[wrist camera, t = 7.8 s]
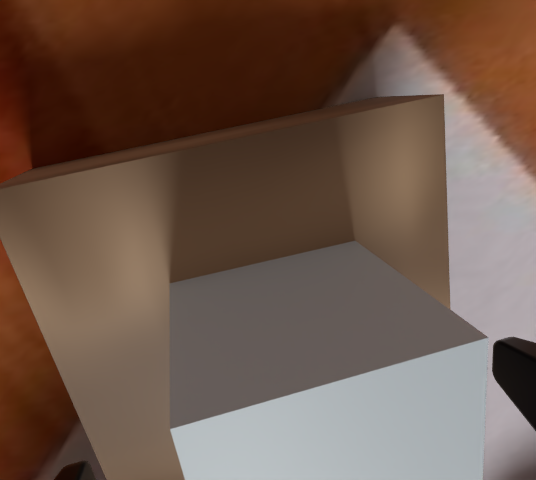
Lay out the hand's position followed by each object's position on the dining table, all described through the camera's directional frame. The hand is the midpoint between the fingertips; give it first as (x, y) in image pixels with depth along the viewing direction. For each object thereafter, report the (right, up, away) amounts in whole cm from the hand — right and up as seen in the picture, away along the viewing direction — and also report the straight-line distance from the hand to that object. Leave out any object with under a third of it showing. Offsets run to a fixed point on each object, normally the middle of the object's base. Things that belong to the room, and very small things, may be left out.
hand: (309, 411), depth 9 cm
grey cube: (-1, +1, +3) cm, 3 cm away
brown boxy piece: (-2, +2, +6) cm, 7 cm away
